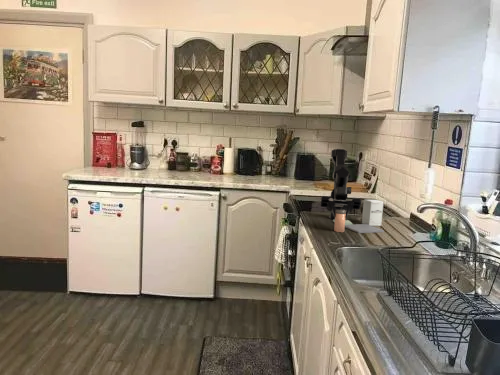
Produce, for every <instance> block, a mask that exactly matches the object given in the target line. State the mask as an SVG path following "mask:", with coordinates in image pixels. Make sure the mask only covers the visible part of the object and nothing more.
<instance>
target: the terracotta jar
mask: <svg viewBox="0 0 500 375" xmlns="http://www.w3.org/2000/svg"><path fill="white" fill-rule="evenodd" d="M335 213H336V214H335V219H334V220H335V223H334V227H333V231H334V232H336V233H345V229H346V228H345V220H346V219H347V218H346V210H345V209H343V208H342V209H336V212H335Z"/></svg>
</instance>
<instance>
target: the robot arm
mask: <svg viewBox="0 0 500 375" xmlns="http://www.w3.org/2000/svg"><path fill="white" fill-rule="evenodd" d="M330 154H331V155H330V157H331V162H332V164H333V165H334V171H332V179H333V189H332V190H331V192H330V195H322V196H321V197H320V207H321V208H327V209H328V210H330V215H329V216H328V218H329V219H330V220H335V214H336V213H335V212H336V209H342V210H343V209H346V218H345V219H347V218H348V215H349V213H350V212H351V211H353V210H360V209H361V205H362V199H361V197H360V198H359V197H358V198H357V197H352V199H351V200H348V195H351V194H352V186H347V183H348V181H349V179H350V178H351V174H350V172H349V171H348V168H347V167H346V165H345V162H346V159H347V158H348V150H347V149H344V148H333V149H332V150H331V152H330Z"/></svg>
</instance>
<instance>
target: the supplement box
mask: <svg viewBox="0 0 500 375" xmlns="http://www.w3.org/2000/svg"><path fill="white" fill-rule="evenodd" d="M383 209H384V201H382V200H378V199H363V206H362V216H361V217H362V218H361V224H368V225H371V226H373V227H378V226H379V227H381V226H382V222H383V221H382V220H383V211H384V210H383Z"/></svg>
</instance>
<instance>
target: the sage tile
mask: <svg viewBox="0 0 500 375" xmlns="http://www.w3.org/2000/svg"><path fill="white" fill-rule="evenodd" d="M332 222H333V223H334V224H335V219H332ZM345 225H354V223H352V222H351V220H348V219H345Z"/></svg>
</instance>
